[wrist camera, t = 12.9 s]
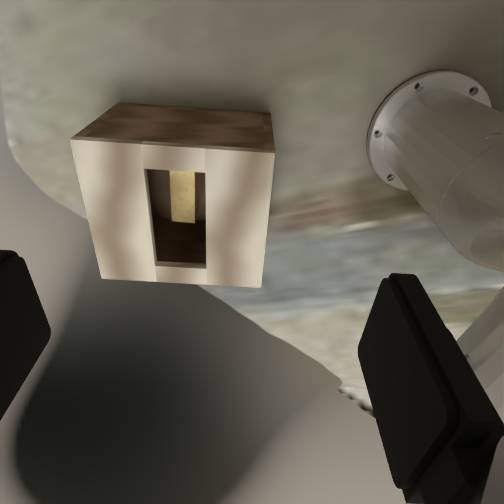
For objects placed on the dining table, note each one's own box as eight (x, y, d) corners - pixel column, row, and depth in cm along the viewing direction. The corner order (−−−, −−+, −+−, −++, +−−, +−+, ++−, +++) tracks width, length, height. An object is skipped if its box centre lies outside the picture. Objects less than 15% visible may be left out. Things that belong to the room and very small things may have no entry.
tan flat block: (194, 223, 37) (202, 195, 43) (194, 168, 34) (203, 145, 39) (171, 221, 37) (182, 193, 42) (169, 166, 34) (181, 143, 39)
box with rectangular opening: (270, 113, 38) (275, 153, 28) (260, 226, 46) (260, 287, 36) (118, 102, 37) (69, 139, 28) (135, 218, 45) (101, 278, 36)
